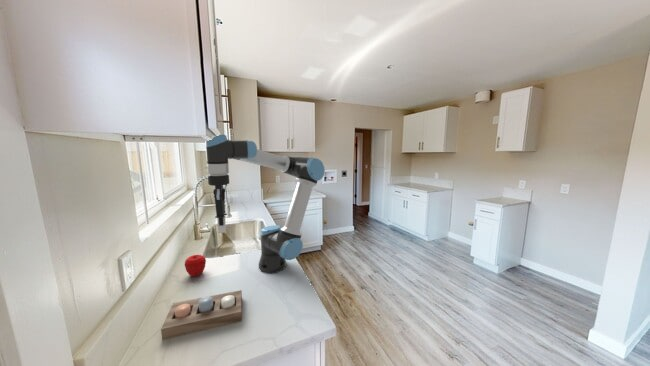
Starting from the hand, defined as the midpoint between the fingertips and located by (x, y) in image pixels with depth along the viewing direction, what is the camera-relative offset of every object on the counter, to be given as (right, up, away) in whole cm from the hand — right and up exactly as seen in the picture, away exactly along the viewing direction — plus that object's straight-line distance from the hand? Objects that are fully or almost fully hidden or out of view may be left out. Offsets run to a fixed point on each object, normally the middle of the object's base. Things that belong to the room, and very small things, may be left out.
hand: (222, 232), depth 91 cm
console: (-5, -33, -2) cm, 34 cm away
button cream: (+2, -32, 0) cm, 32 cm away
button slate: (-5, -31, -2) cm, 32 cm away
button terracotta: (-13, -33, -5) cm, 36 cm away
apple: (-26, -29, +27) cm, 47 cm away
